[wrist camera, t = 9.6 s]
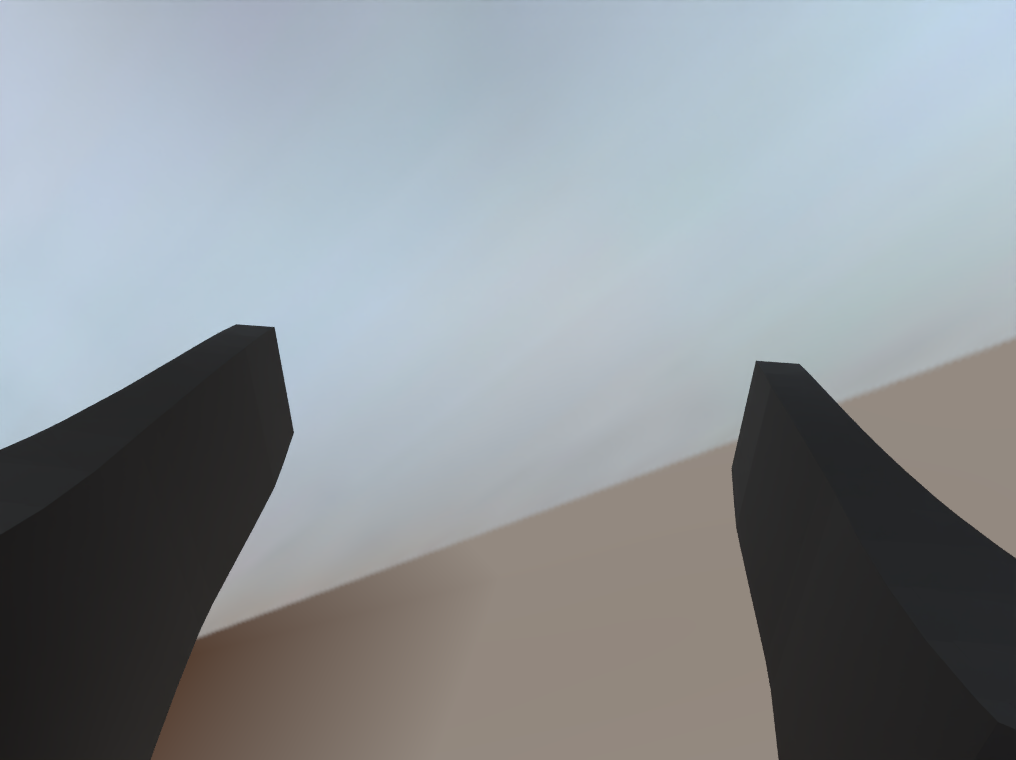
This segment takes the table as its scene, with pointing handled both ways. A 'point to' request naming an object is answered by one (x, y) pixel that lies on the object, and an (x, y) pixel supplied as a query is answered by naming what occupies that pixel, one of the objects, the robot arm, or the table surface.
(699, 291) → the table surface
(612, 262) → the table surface
